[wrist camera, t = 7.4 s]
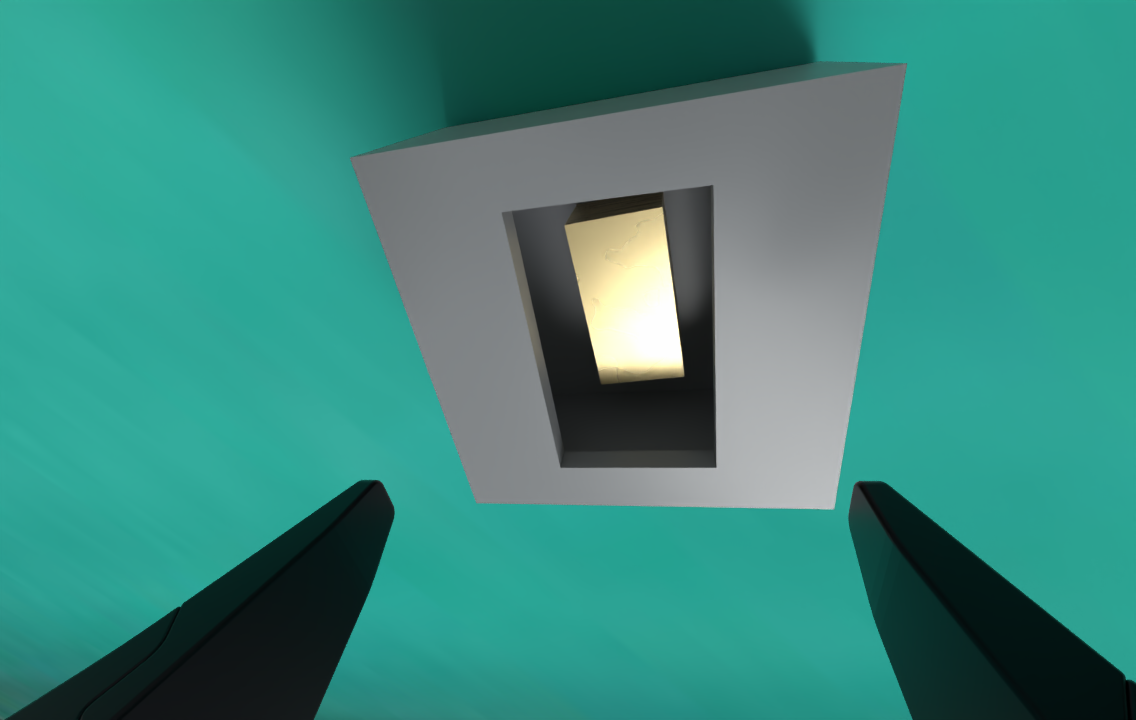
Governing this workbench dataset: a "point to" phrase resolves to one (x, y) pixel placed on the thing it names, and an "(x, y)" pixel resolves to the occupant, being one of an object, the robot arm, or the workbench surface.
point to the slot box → (701, 272)
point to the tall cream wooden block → (627, 287)
